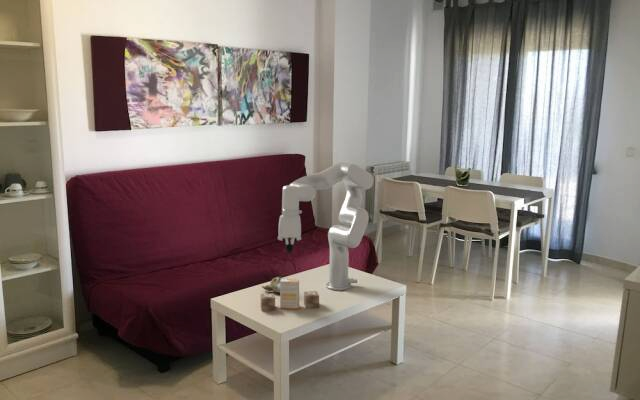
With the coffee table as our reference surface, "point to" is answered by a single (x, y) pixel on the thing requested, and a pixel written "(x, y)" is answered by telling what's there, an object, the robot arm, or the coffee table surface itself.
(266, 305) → the walnut block
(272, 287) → the ceramic sculpture
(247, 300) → the coffee table surface
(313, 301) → the walnut block
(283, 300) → the supplement box
